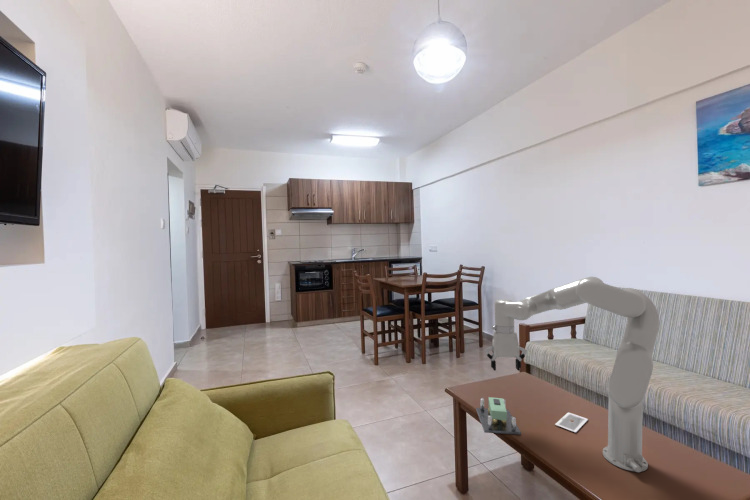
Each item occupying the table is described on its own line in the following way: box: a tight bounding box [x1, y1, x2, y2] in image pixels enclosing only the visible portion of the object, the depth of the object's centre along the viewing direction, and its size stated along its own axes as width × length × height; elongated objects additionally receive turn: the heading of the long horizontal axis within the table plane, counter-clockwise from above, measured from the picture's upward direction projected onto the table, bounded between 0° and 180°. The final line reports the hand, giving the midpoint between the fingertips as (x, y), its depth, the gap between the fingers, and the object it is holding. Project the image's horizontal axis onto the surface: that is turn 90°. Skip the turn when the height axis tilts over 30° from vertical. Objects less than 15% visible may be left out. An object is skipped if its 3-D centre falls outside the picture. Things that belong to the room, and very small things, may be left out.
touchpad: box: [554, 411, 589, 433], centre depth 140 cm, size 8×15×2 cm, turn 131°
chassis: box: [476, 397, 522, 435], centre depth 141 cm, size 18×14×6 cm
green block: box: [488, 396, 507, 421], centre depth 141 cm, size 12×6×4 cm, turn 166°
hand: (505, 369), depth 140 cm, fingers open, 9 cm apart
